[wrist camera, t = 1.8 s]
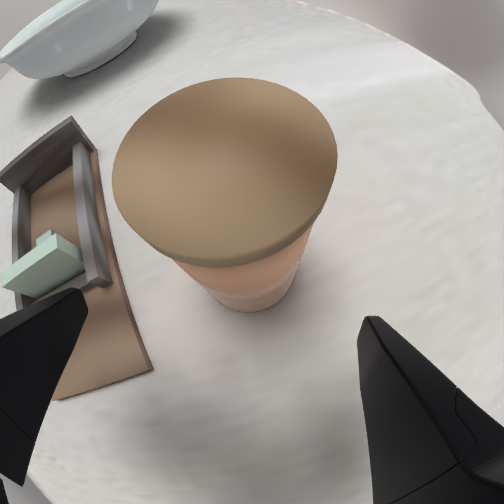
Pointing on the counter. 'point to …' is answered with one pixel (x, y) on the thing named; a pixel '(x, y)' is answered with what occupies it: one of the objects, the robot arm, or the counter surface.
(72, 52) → the bowl
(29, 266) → the block
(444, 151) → the counter surface
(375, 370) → the robot arm
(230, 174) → the jar
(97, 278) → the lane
